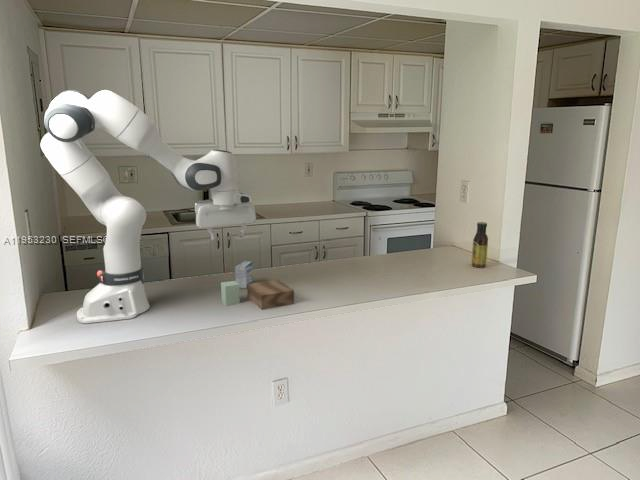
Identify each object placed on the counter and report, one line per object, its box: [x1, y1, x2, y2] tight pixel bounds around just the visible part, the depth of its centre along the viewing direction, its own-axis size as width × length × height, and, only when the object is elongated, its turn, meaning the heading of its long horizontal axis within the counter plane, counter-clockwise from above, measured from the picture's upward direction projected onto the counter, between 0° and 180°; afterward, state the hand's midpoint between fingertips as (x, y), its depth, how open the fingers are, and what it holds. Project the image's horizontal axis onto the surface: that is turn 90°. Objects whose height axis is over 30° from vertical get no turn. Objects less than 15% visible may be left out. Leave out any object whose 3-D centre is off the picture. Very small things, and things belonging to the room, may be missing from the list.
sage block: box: [220, 280, 241, 306], centre depth 167 cm, size 5×5×7 cm
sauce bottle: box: [471, 221, 489, 268], centre depth 210 cm, size 7×6×20 cm
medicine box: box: [234, 260, 254, 289], centre depth 186 cm, size 8×4×9 cm, turn 168°
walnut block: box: [246, 278, 295, 310], centre depth 169 cm, size 12×14×5 cm
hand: (227, 238), depth 163 cm, fingers open, 8 cm apart
